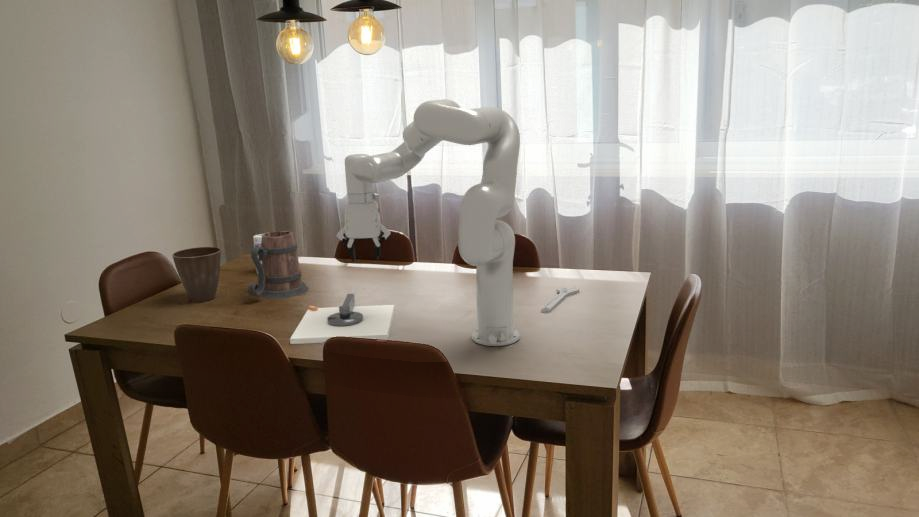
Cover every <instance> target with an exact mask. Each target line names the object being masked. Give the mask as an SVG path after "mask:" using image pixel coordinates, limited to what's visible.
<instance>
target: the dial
mask: <svg viewBox="0 0 919 517" xmlns="http://www.w3.org/2000/svg"><path fill="white" fill-rule="evenodd" d="M355 295H356V294H355V292H347V294H346V297H345V299H344V301H343V303H342V305H340V306H338V307H339V313H335V314H332V315H330V316H329V317H328V318H327V320H328V324H330V325H332V326H350V325H355V324H358V323H360V322H361V321H362V320H363V315H362V314H361V313H359V312H352V310H353V308H354V306H356V296H355Z"/></svg>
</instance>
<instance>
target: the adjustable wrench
mask: <svg viewBox="0 0 919 517" xmlns="http://www.w3.org/2000/svg"><path fill="white" fill-rule="evenodd" d="M577 293H578V294H580V288H579V286H573V288H567V289H566V286H564V285H563V286H561V287H559V288H557V289H556V294H557V295H556V296H554V297H553V298H552V299H551V300H549V301H548V302H547V303H546V304H545V305H544V306H542V307H541V308H540V311H541V313H542V314H550V313H551V312H552V311H553V310H554V309H556V307H558V306H559V305H560V304H561V303H562V302H564V301H565V299H567V298H568V296H569V297H571V296H570V295H572V296H574V294H575V295H577ZM566 297H567V298H566ZM558 304H559V305H558ZM557 305H558V306H557Z"/></svg>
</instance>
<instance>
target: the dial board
mask: <svg viewBox="0 0 919 517" xmlns="http://www.w3.org/2000/svg"><path fill="white" fill-rule="evenodd" d="M339 307H340V306H336V307H335V306H334V307H333V306H332V307H330V306H329V307H318V306H315V305H308V309H307V310H306V312H305V314H304V315H303V317H302V319H301V320H300V322H299V323H298V325H297V327H296V328H295V330H294V332H293V333H292V335H291V336H290V338H289V341H290V342H289V343H290V345H299V344H302V345H304V344H325V343H324V342H325V341H326V340H327V339H329V338H331V337H336V336H345V337H361V338H376V339H388V340H389V335H390V331H391V328H392V327H391V326H392V323H393V318H394V315H395V311H396V310H395V304H381V305H359V306H358V305H357V306H356V305H355V306H354V308H353V310H352V312H359V313H361V314H362V315H363V320H362V321H361V322H360V323H358V324H355V325H350V326H332V325H330V324H328V320H327V318H328V317H329V316H330V315H332V314H335V313H339Z"/></svg>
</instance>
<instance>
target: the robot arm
mask: <svg viewBox="0 0 919 517" xmlns="http://www.w3.org/2000/svg"><path fill="white" fill-rule="evenodd" d="M402 138H403V142H401V144H400V145H398V146H396V148H394V149H393V150H392V151H389V152H384V153H380V154H379V153H378V154H373V155H369V154H366V153H365V154H364V153H354V154H349V155H346V157H345V158H344V170H345V172H344V173H345V183H346V197H347V202H345V207H344V225H343V227H342V228H341V229H340V230H339V231H338V232H337V234H336V235H335V237H336V238H337V239H339V241H341V242H342V243H343V244H344V245H345V246H346V247H347V248H348V254H349V256H348V258H349V259H351V262H355V260H356V249H355V245H354V241H355V239H369V238H370V239H372V241H373V242H374V247H373V248H374V250H373V251H374V260H375V261H379V257H381V245H382V244H383V243H384V241H386V240H387V239H388V237H390V235H391V231H390V230H389V229H388V228H386V227H385V225H383V224H382V222H381V215H380V214H381V213H380V208H379V204H378V201H376V199H380V193H377V192H375V191H374V184H379V183H384V182H386V181H391V180H396V179H400V177H403V176H404V175H405V174H407V173H408V172H409V171H411V170H412V169H414V168H415V167H416V166H418V165H419V164H420V162H421V161H422V160H423V159H424V157H425V155H426V153H428V152H429V151H430V150H432V149H433V148H435V146H437V145H438V144H439V143H441V142H442V141H444V142H445V141H446V142H449V143H453V144H458V145H463V146H474V145H479V144H484V143H485V144H486V143H487V150H486V152H485V155H484V158H483V163H482V175H481V181H480V183H478V184H475V185H473V186H471V187H470V188H468V189H467V190H466V191H465V193H464V195H463V197H462V200H461V204H460V209H459V210H460V211H459V212H460V213H459V224H458V235H457V237H458V238H457V248H458V252H459V254H460V257H461V259H462V260H463V261H464V262H465V263H466V264H468V265H470V266H472V267H476V270H475V271H476V273H475V281H476V282H475V283H476V284H475V286H476V287H475V288H476V312H477V313H476V316H477V318H476V319H477V320H476V322H477V329H476V330H474V331H473V332H472V334H471V338H472V340H473V342H475V343H477V344H478V345H483V346H486V347H487V346H488V347H501V346H503V347H504V346H508V345H511V344H514V343H516V342H517V341H518V340H519V339H520V338H521V337H520V332H519V331H518V330H517V329H516V328H514V326H515V325H514V293H513V292H514V291H513V290H514V288H513V287H514V285H513V284H514V283H513V280H514V279H513V278H514V275H513V273H514V272H513V268H514V267H513V265H514V255H515V248H516V237H515V232H514V230H513V228H512V227H511V226H510V224H508V223H507V222H505V221H503V220H500V219H499V218H501V217H504V216H506V215H507V214H509V213H510V212H511V210H512V209H513V208H514V204H515V197H516V196H515V194H516V187H517V186H516V185H517V174H518V165H519V164H518V161H519V155H520V145H521V135H520V131H519V127H518V124H517V123H516V121H515V120H514V118H513V117H512V116H511V115H510V114H509V113H508V112H507V111H505V110H503V109H501V108H497V107H493V106H483V107H477V108H462V107H461V106H460V105H459V104H458V103H457V102H455V101H453V100H452V99H436V100H435V99H433V100H427V101H424V102H422V103H420V104H419V105H418V107H416V109H415V111H414V113H413V120H412V122H410V123H409V124H408V125H407V126H405V127H404V129H403V131H402ZM498 219H499V220H498ZM382 232H383V234H382ZM344 234H345V236H344ZM381 234H382V236H381V237H380V238H379V236H380V235H381Z"/></svg>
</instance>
